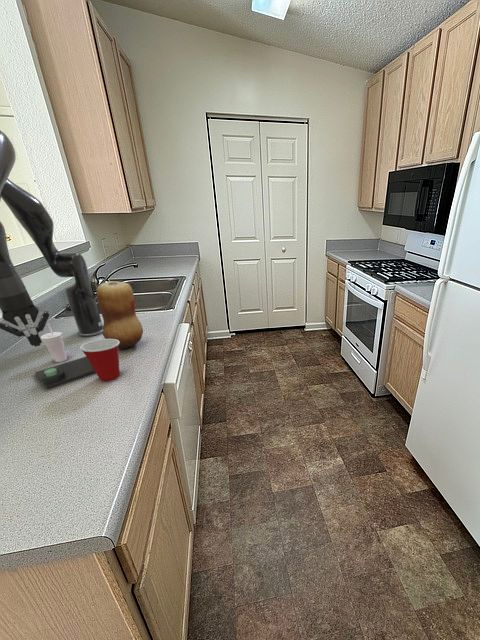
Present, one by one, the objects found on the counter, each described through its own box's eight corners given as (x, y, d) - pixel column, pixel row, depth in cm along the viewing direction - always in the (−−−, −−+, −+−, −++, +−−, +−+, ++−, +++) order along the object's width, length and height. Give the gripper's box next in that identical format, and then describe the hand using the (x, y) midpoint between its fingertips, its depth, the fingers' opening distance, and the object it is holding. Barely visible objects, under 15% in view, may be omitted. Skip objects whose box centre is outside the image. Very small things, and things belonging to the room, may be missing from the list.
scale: (35, 375, 110) (32, 367, 108) (88, 358, 120) (86, 351, 119) (47, 390, 101) (43, 381, 100) (103, 370, 112) (100, 363, 110)
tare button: (44, 375, 104) (43, 370, 104) (56, 371, 106) (54, 367, 106) (47, 378, 102) (45, 373, 102) (59, 374, 104) (57, 370, 104)
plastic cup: (136, 371, 111) (126, 338, 105) (110, 387, 102) (98, 352, 96) (111, 367, 114) (100, 334, 109) (83, 382, 105) (70, 348, 99)
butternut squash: (142, 351, 124) (125, 285, 113) (104, 356, 122) (82, 289, 111) (149, 337, 136) (134, 277, 125) (114, 341, 134) (95, 279, 123)
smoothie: (61, 364, 116) (46, 327, 110) (45, 363, 118) (30, 326, 111) (75, 356, 122) (62, 320, 116) (60, 355, 123) (47, 319, 117)
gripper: (36, 282, 98) (60, 334, 108) (-21, 293, 91) (10, 348, 101) (39, 289, 93) (64, 342, 103) (-21, 301, 86) (11, 357, 96)
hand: (37, 345), depth 102 cm, fingers closed
